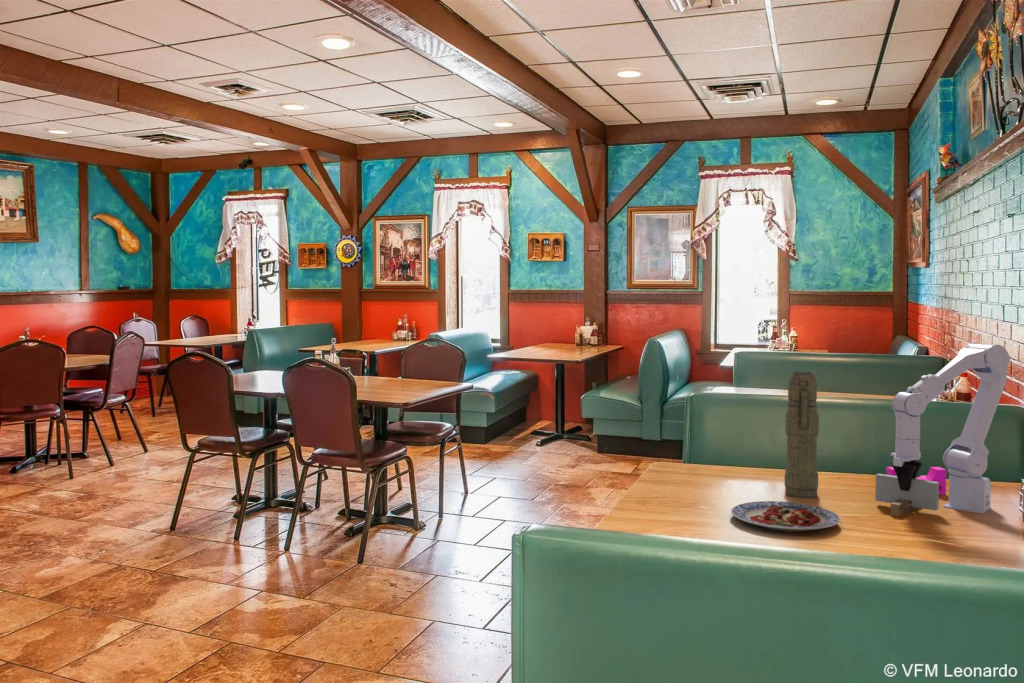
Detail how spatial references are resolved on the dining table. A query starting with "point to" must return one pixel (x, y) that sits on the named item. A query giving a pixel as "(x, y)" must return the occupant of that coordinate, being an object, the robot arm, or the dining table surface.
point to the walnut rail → (901, 507)
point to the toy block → (929, 477)
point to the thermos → (802, 436)
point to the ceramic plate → (785, 515)
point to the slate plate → (908, 492)
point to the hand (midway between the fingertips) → (906, 489)
